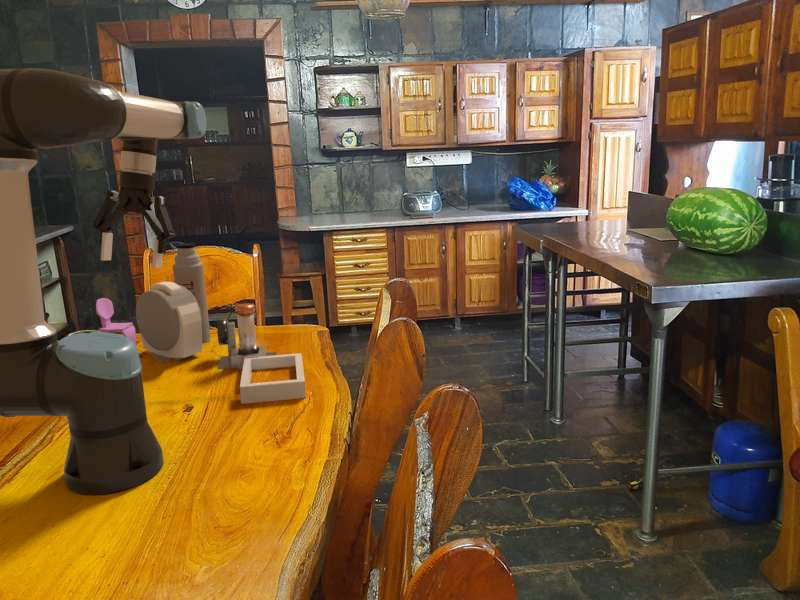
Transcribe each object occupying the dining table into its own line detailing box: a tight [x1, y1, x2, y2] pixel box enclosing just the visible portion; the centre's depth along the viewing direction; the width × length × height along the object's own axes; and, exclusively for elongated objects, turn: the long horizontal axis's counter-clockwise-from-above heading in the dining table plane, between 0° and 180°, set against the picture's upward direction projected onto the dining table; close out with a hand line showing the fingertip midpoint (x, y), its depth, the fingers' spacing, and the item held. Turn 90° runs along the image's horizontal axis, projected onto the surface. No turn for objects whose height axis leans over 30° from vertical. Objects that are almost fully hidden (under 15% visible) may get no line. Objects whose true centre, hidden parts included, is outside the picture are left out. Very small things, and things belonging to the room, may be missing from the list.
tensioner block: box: [216, 318, 277, 370], centre depth 155 cm, size 13×14×11 cm
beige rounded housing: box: [135, 281, 203, 363], centre depth 159 cm, size 18×8×20 cm, turn 58°
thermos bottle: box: [172, 242, 211, 345], centre depth 173 cm, size 8×8×28 cm
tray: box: [239, 352, 307, 405], centre depth 142 cm, size 20×14×4 cm
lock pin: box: [234, 302, 257, 355], centre depth 152 cm, size 5×5×15 cm
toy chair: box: [95, 297, 138, 348], centre depth 167 cm, size 8×9×15 cm
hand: (131, 263), depth 146 cm, fingers open, 13 cm apart
